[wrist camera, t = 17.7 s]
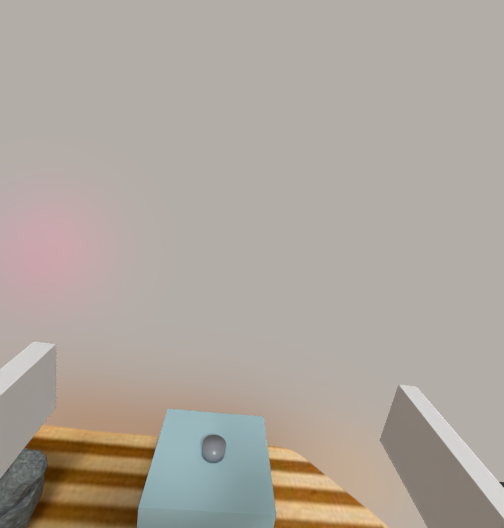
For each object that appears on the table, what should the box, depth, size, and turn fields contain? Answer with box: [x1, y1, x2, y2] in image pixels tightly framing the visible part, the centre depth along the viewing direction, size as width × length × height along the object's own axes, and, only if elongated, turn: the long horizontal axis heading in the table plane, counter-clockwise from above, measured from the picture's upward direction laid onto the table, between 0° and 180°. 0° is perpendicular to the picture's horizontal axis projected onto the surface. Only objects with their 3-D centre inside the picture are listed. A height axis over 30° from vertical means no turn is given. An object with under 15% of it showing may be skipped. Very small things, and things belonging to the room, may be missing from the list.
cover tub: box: [137, 409, 276, 528], centre depth 33 cm, size 12×12×11 cm
